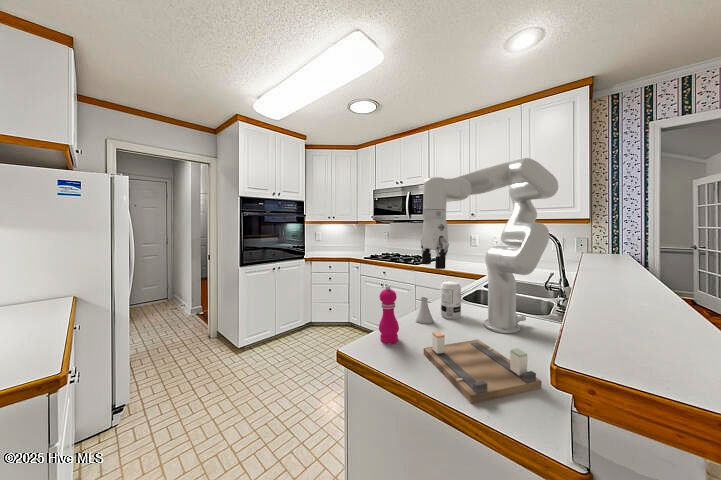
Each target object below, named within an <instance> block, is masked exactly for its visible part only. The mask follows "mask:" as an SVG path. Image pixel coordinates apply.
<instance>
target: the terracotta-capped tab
mask: <svg viewBox="0 0 721 480" xmlns="http://www.w3.org/2000/svg"><path fill="white" fill-rule="evenodd" d="M431 337H432V339H431V340H432V345H431V347H433V350H434V351H435V352H436V353H437V354H439V353H445V345H446V344H445V343H446V342H445V341H446V339H445V334H444V333H442V332H441V331H434V332H433V331H432V336H431Z"/></svg>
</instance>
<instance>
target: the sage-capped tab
mask: <svg viewBox="0 0 721 480" xmlns="http://www.w3.org/2000/svg"><path fill="white" fill-rule="evenodd" d="M509 352H510V353H509V355H510V357H509V360H510V370H512V371H513V372H515V373H516V374H518V375H519V376H520V375H522V373H524V372H528V353H527V352H525V351H523V350H521V349H520V348H514V349H509Z"/></svg>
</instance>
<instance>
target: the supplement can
mask: <svg viewBox="0 0 721 480" xmlns="http://www.w3.org/2000/svg"><path fill="white" fill-rule="evenodd" d="M461 295H462V286H461V285H460V282H458V281H456V280H455V281H454V280H444V281H442V282H441V284H440V316H441V317H442V318H443V319H446V320H458V319H460V318H461V316H462V307H461V306H462V301H461V300H462V296H461Z"/></svg>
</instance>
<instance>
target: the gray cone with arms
mask: <svg viewBox="0 0 721 480" xmlns="http://www.w3.org/2000/svg"><path fill="white" fill-rule="evenodd" d="M428 299H429V297H428V296H420V305H419V311H418V312H417V316H416V319H415V322H417V323H419V324H426V325H429V324H430V325H431V324H432V323H434V319H433V317H432V314H431V311H430V308H429V305H428Z"/></svg>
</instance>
